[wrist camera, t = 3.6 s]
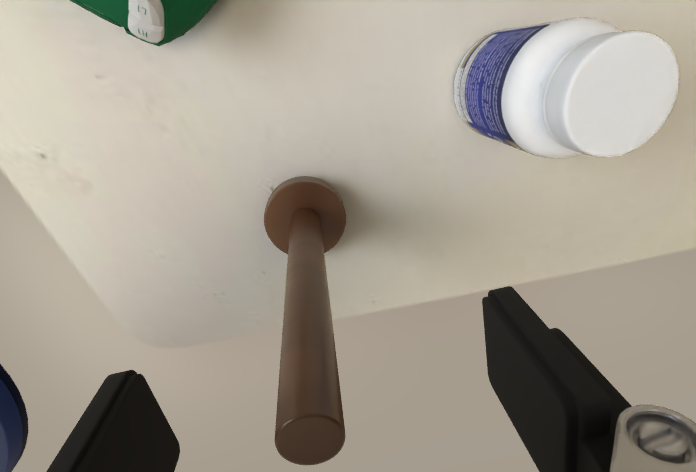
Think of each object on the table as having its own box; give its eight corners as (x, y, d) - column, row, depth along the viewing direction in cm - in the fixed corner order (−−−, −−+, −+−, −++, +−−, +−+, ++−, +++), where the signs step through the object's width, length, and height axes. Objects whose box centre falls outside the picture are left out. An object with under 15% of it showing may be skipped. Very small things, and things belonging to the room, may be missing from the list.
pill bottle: (457, 145, 23) (545, 192, 14) (445, 43, 20) (540, 29, 12) (550, 122, 23) (690, 156, 14) (548, 17, 20) (710, -13, 12)
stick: (277, 256, 24) (244, 524, 10) (256, 185, 22) (179, 391, 8) (350, 240, 24) (417, 482, 10) (334, 168, 22) (389, 342, 8)
